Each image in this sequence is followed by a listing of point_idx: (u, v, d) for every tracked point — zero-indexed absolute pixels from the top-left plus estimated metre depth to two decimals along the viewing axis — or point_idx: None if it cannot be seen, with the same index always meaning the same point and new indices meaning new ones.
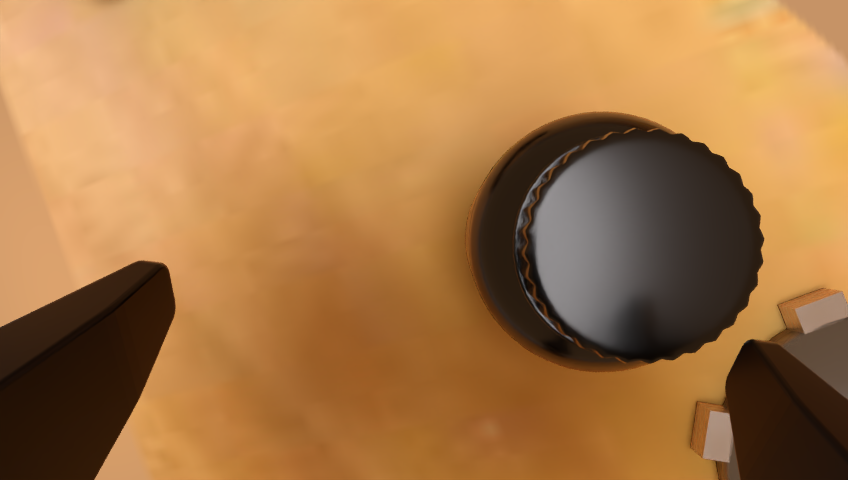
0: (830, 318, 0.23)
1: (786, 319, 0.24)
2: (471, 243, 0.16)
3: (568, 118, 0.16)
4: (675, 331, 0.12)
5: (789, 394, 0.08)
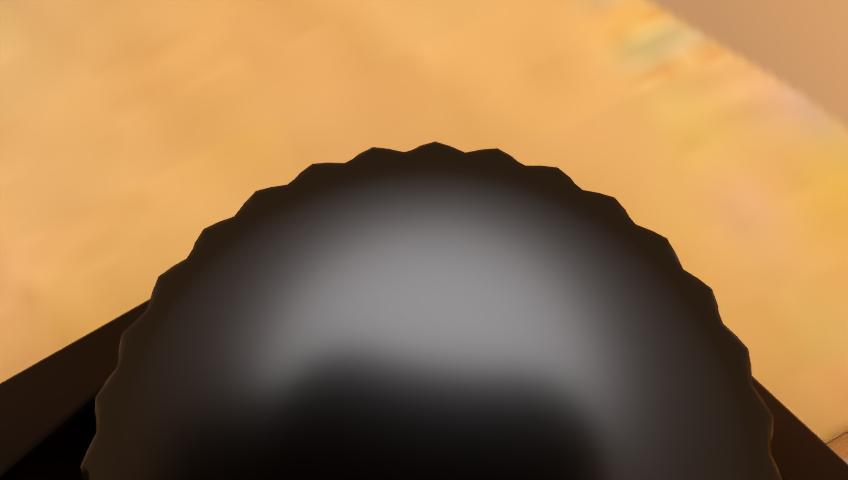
0: None
1: None
2: None
3: None
4: None
5: None
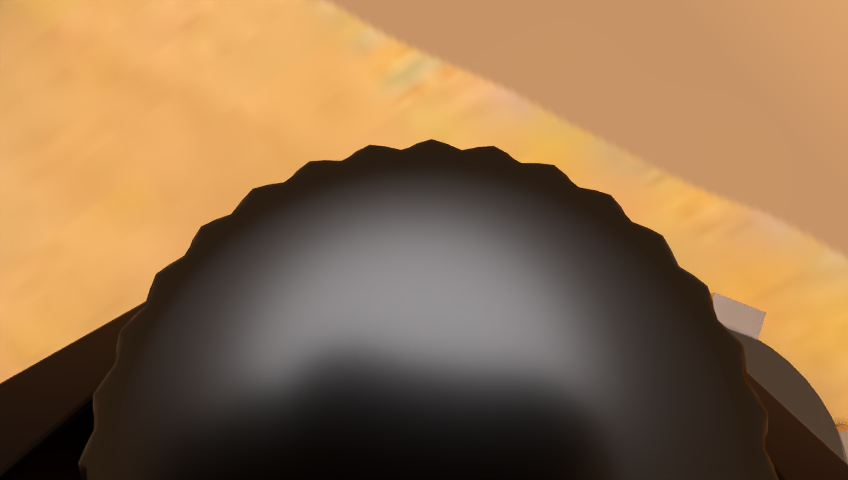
0: None
1: None
2: None
3: None
4: None
5: None
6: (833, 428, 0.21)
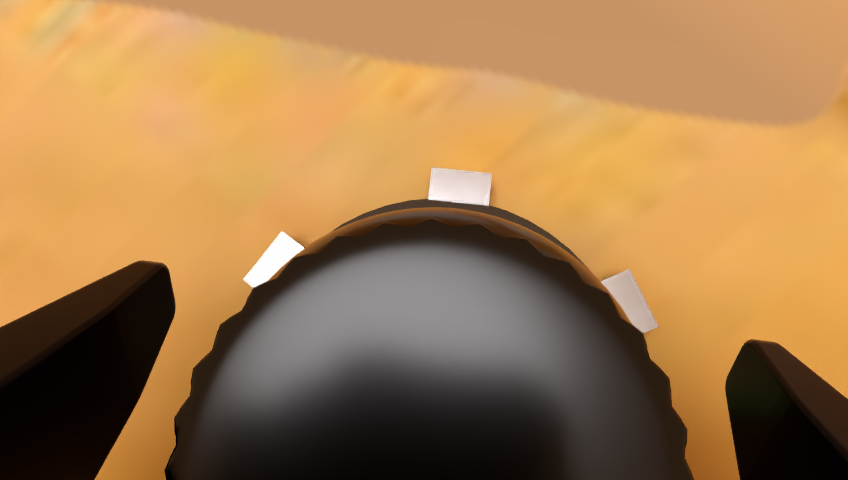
0: None
1: None
2: None
3: (350, 225, 0.09)
4: None
5: (789, 394, 0.08)
6: None
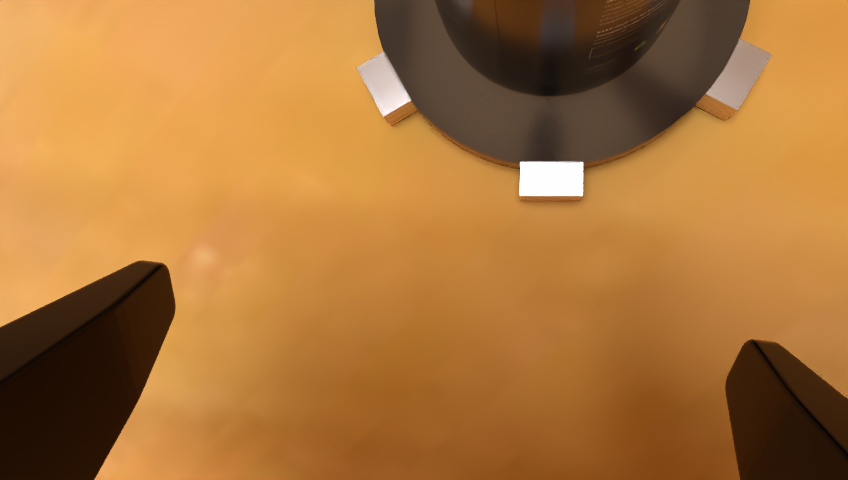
0: None
1: None
2: None
3: None
4: None
5: (789, 394, 0.08)
6: None
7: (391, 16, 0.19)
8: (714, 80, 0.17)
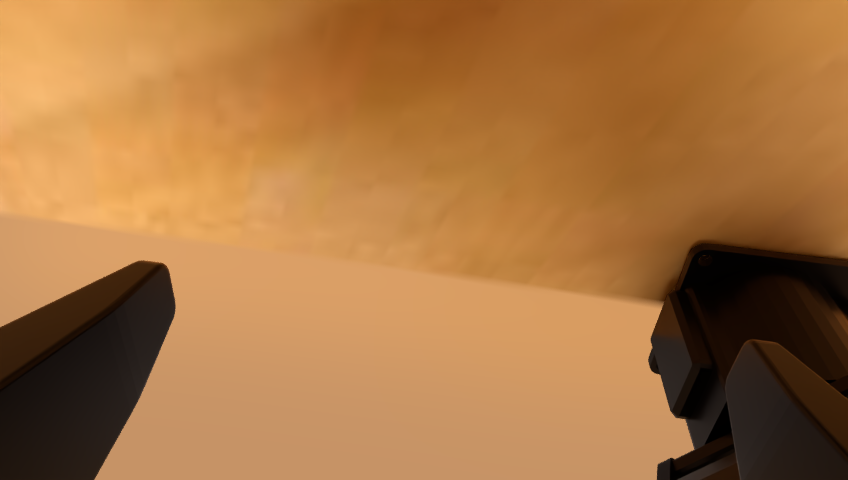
0: None
1: None
2: None
3: None
4: None
5: (789, 394, 0.08)
6: None
7: None
8: None
